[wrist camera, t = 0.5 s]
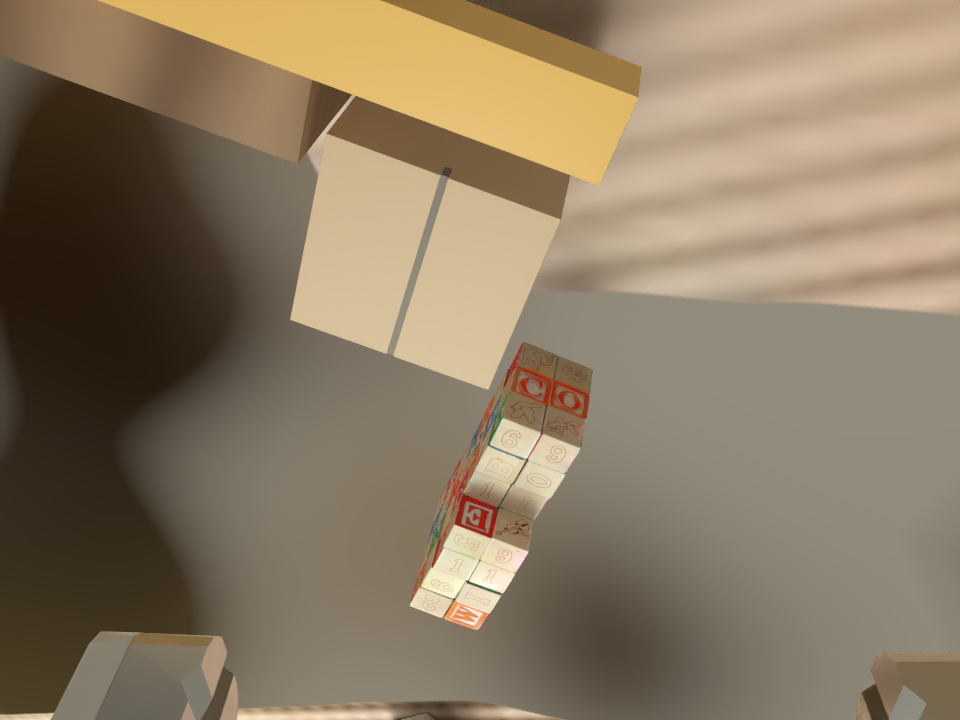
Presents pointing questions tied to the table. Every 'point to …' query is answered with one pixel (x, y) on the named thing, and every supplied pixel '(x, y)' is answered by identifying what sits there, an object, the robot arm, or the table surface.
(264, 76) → the walnut post
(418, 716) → the coffee box
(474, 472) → the stack of blocks
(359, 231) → the cardboard box
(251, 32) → the tan wooden beam
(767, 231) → the table surface
